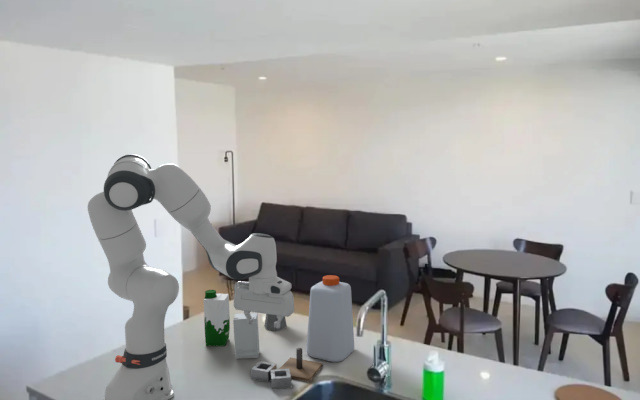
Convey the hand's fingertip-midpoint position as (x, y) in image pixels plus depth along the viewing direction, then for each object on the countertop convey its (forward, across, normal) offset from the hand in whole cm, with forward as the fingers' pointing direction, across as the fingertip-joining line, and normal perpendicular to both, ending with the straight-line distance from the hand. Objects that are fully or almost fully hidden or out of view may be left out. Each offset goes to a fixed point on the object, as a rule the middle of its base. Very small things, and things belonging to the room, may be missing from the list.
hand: (263, 325), depth 156 cm
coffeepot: (+18, -15, +39) cm, 45 cm away
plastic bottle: (+18, +14, +25) cm, 34 cm away
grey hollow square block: (+17, 0, 0) cm, 17 cm away
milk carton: (+17, -29, +18) cm, 38 cm away
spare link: (+17, +7, -3) cm, 19 cm away
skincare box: (+18, -13, +12) cm, 25 cm away
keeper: (+17, +9, +8) cm, 21 cm away
